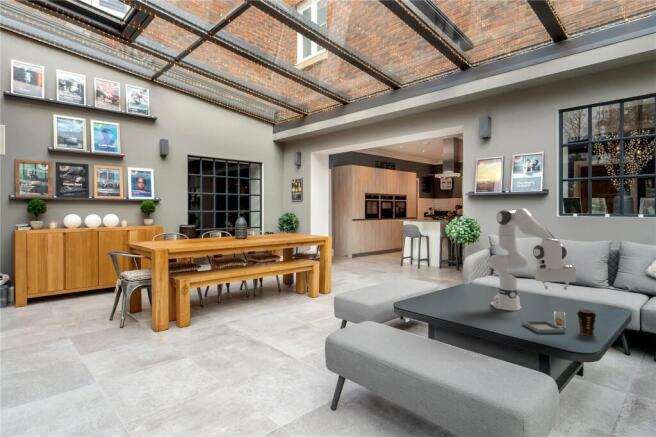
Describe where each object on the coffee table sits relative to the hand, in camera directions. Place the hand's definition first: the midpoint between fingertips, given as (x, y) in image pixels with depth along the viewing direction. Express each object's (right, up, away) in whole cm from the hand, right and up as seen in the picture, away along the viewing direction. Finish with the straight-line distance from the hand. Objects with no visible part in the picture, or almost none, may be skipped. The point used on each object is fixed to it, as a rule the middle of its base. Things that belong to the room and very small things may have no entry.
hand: (555, 289), depth 205 cm
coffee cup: (+12, -24, -8) cm, 28 cm away
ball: (+7, -21, +7) cm, 23 cm away
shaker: (+6, -24, +6) cm, 25 cm away
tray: (-7, -24, +1) cm, 25 cm away
